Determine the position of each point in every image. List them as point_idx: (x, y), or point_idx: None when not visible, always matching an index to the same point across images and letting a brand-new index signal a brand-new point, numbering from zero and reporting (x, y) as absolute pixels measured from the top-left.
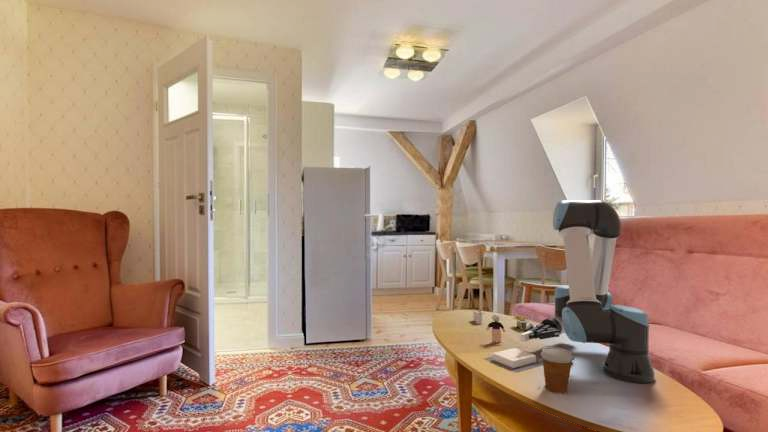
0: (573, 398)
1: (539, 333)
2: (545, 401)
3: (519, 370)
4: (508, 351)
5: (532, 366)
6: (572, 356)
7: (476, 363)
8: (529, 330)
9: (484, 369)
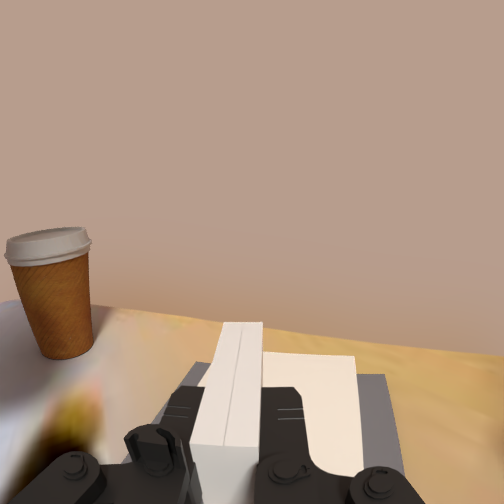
0: None
1: (96, 463)
2: (95, 308)
3: (195, 376)
4: (328, 413)
5: None
6: (5, 253)
7: (365, 352)
8: (274, 461)
9: (305, 342)
